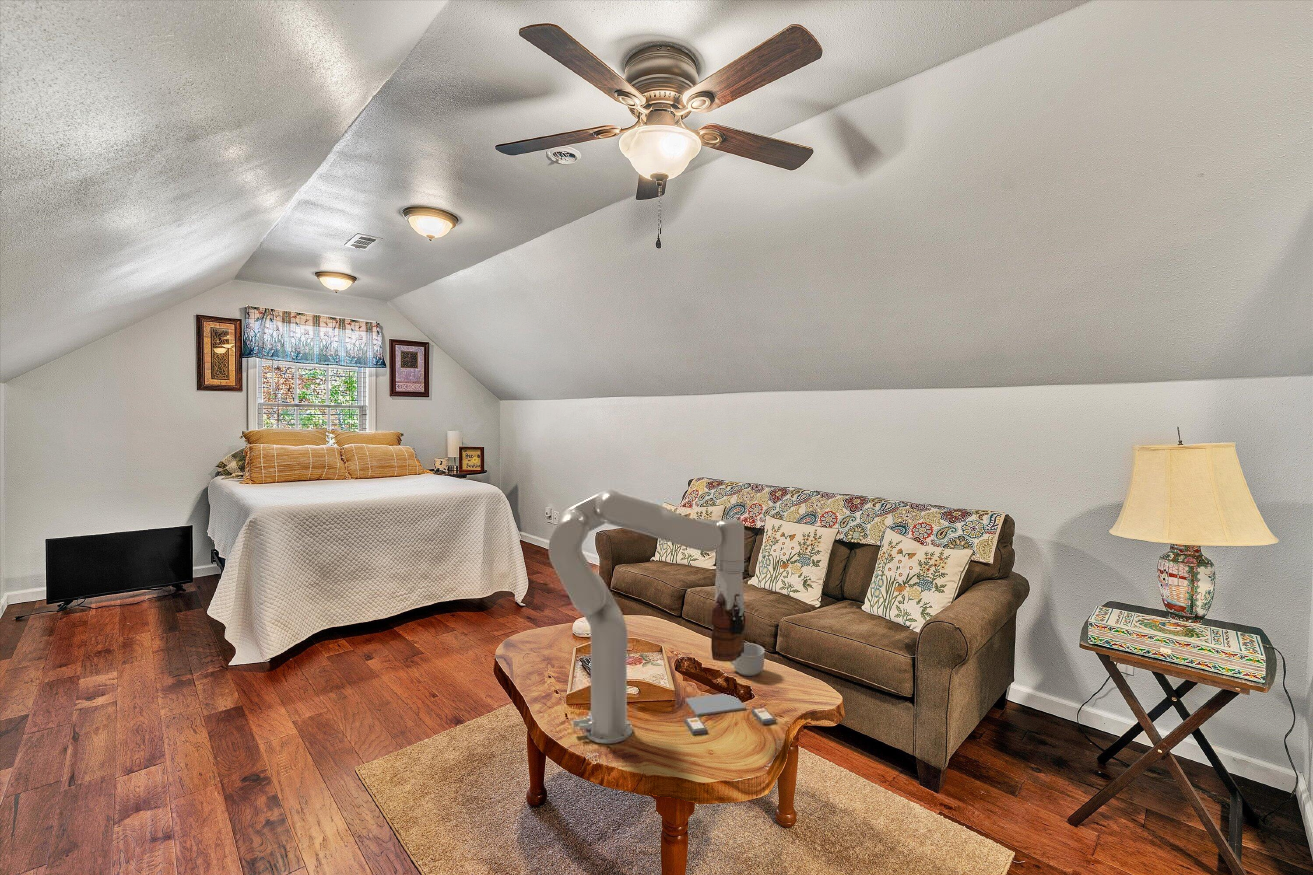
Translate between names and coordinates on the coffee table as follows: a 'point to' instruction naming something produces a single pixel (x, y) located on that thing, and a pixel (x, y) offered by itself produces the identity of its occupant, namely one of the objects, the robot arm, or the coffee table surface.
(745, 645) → the teacup
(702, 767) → the coffee table surface
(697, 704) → the mat
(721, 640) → the wooden figurine
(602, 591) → the robot arm
